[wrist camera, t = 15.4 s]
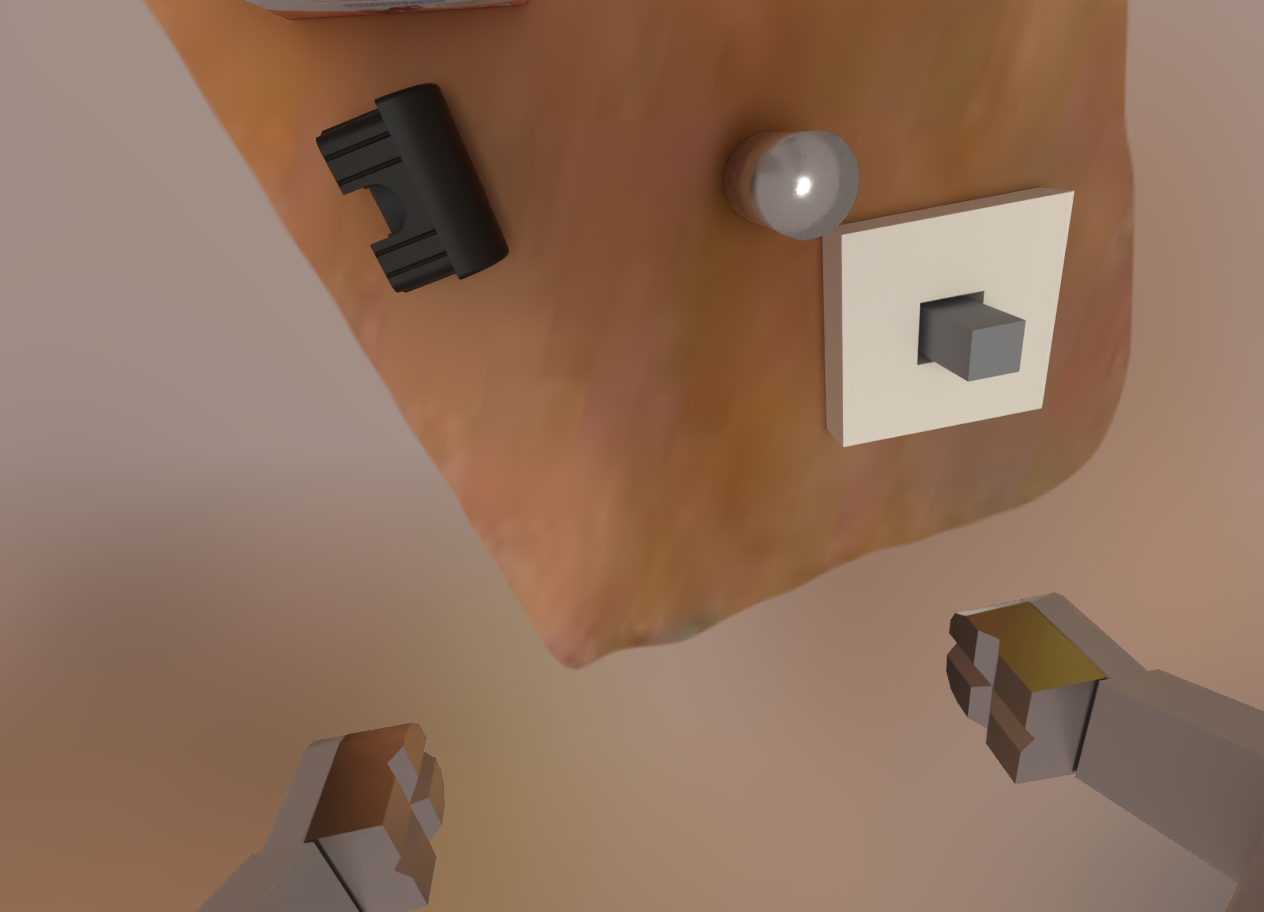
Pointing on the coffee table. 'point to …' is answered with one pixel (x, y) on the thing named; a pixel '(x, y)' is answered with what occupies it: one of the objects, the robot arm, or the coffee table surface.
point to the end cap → (417, 187)
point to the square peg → (970, 337)
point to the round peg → (792, 182)
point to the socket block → (930, 270)
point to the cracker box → (369, 6)
